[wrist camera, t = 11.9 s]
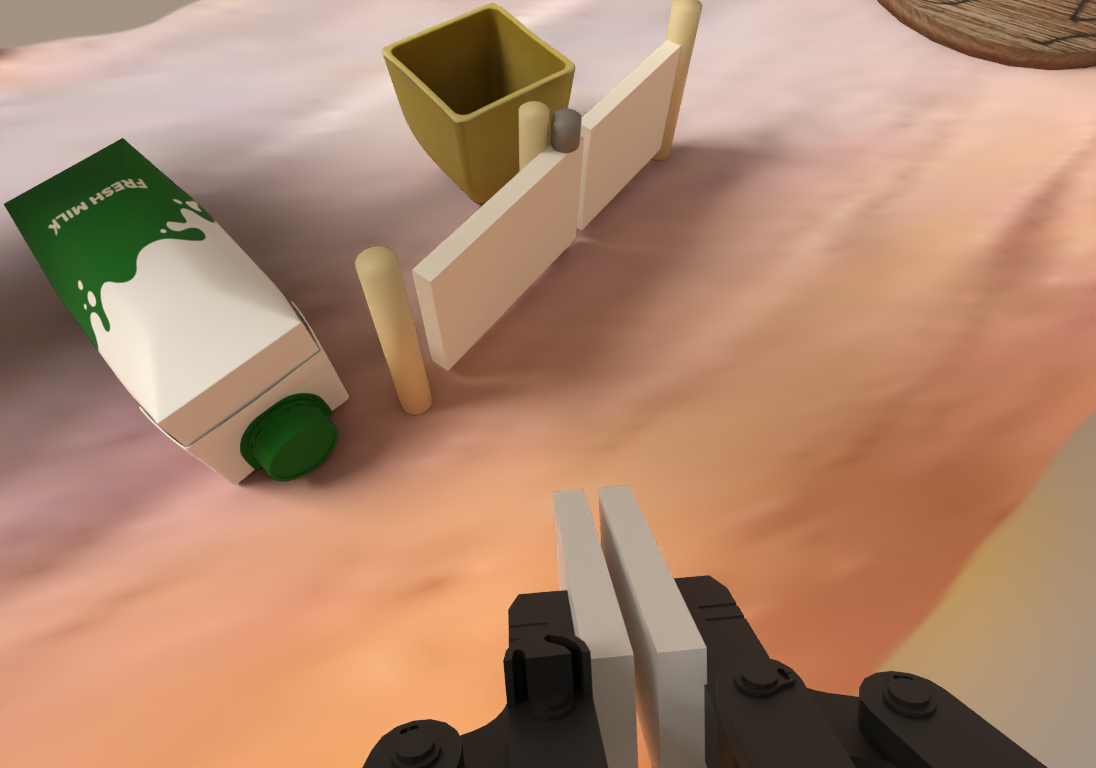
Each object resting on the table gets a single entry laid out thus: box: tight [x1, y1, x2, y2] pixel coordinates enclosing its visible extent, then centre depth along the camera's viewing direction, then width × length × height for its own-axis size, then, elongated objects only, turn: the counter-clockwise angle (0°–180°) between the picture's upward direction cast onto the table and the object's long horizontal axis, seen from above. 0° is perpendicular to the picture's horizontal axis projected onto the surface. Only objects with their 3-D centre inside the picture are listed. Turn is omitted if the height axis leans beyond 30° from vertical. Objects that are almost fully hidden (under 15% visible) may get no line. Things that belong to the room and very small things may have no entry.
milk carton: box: [4, 138, 349, 485], centre depth 37 cm, size 9×9×20 cm
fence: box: [355, 0, 702, 415], centre depth 40 cm, size 28×3×12 cm, turn 144°
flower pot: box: [382, 3, 575, 203], centre depth 45 cm, size 9×9×9 cm
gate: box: [412, 109, 584, 371], centre depth 38 cm, size 13×2×10 cm, turn 144°
